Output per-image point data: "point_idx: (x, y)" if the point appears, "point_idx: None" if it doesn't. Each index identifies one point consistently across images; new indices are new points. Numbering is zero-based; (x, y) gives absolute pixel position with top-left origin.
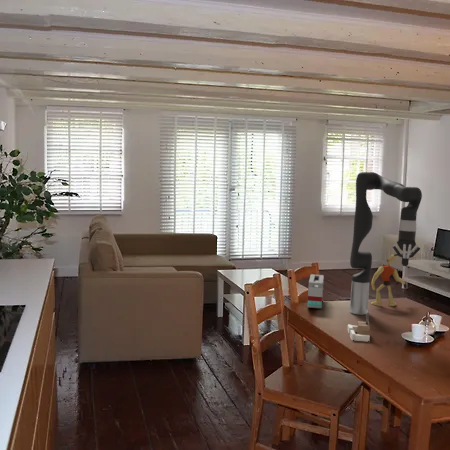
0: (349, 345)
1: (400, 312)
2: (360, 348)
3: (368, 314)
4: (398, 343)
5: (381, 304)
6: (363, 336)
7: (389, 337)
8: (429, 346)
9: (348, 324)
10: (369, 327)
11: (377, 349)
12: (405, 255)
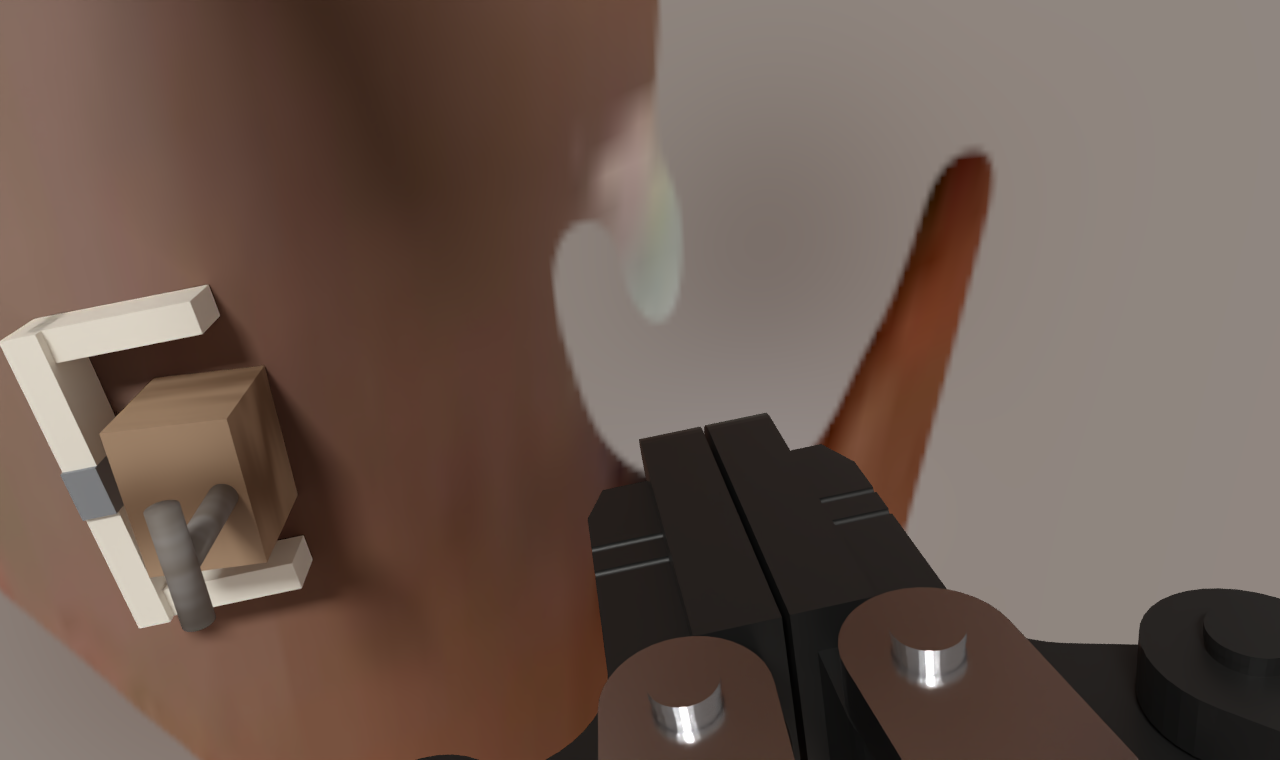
0: (177, 705)
1: None
2: (273, 729)
3: (203, 620)
4: (556, 502)
5: None
6: (248, 596)
7: (475, 372)
8: None
9: (8, 350)
10: (268, 556)
11: (400, 697)
12: (873, 720)
